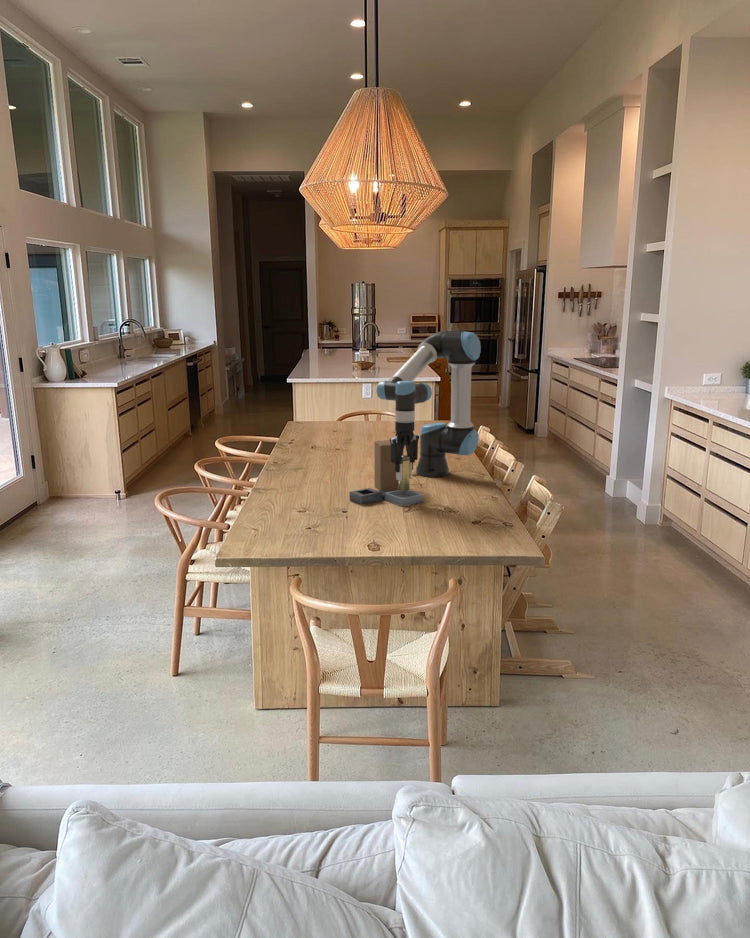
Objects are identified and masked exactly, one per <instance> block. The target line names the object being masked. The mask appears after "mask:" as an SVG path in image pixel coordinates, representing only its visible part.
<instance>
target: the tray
mask: <svg viewBox="0 0 750 938" xmlns="http://www.w3.org/2000/svg"><path fill="white" fill-rule="evenodd" d="M384 501H387V502H389V503H391V504H394V505H397V506H400V507H406V506H411V505H415V504H419V503H424V494H423V493H420V492H418V491H417V492H416V491H414V490H411V489H409V490H407V491H402V490H397V491H392V492H387V493H385V499H384Z"/></svg>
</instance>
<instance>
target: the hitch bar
mask: <svg viewBox="0 0 750 938" xmlns="http://www.w3.org/2000/svg"><path fill="white" fill-rule="evenodd" d="M387 492H392V491H390V490H387V489H385V490H380V491H379V490H378V489H377V490H376V489H373V488H371V487H368V488H363V489H358V490H352V491H349V501H350V502H352V503H354V504H355V503H356V504H358V505H360V506H363V505H368V504H373V503H378V502H381V501H383V500H384V501H385V493H387Z"/></svg>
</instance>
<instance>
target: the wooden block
mask: <svg viewBox="0 0 750 938" xmlns="http://www.w3.org/2000/svg"><path fill="white" fill-rule="evenodd" d="M404 448H405V447H404ZM404 448H403V453H402V455H405V454H404V452H405V451H404ZM373 477H374V483H373V485H374V488H376V489H377V491H380V490H385V489H387V490H390V491H397V490H399V489H398V480H396V472H395V463H392V462H391V443H390V439H388V440H375V441H374V475H373Z"/></svg>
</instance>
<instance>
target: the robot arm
mask: <svg viewBox="0 0 750 938" xmlns="http://www.w3.org/2000/svg"><path fill="white" fill-rule="evenodd" d="M481 349H482V347H481V341H480V338H479V337H478V335H477V334H476V333H475V332H470V331H449V330H441V331H438V332H435V333H434V334H431V335H430V336H428V337H426V338H425V339H423V341H422V342H420V343H419V344H418V346H417V350H416V351H415V352H414V353H413V354H412V356H410V358H409V359H408V360H407V361H406V362H405V363H404V364H403V365H402V366H401V367H400V368H399V369H398V370H397V371H396V372H395V373H394V374H393V375H392V377H391V378H389V380H388V381H387V380H381V381H379V382H378V384H377V386H376V395H377V397H378V398H379V399H380V400H386V401H394V402H395V411H394V412H395V413H394V414H395V415H394V416H395V418H394V419H395V420H396V421H395V422H394V426H395V427H394V430H395V436H394V437H390V438H389V440H390V443H391V462H392V463H395V472H396V480H399V481H402V464H401V458H402V453H403V448H405V451H406V455H409V456H410V480H411V479H412V478H413V470H414V464H415V463H416V461H418V462H417V465H416V467H415V474H417V475H419V476H421V477H428V478H430V477H431V478H435V477H436V478H439V477H446V476H448V475H449V474H450V468H449V465H448V461H447V458H446V454H450V455H459V456H467V457H468V456H471V455H472V454H473V453H474V452H475V450H476V449H477V446H478V443H479V432H478V430H476V429H474V426H475V425H474V424H473V423H472V421H471V410H472V409H471V404H472V403H471V401H472V400H471V399H472V367H473V366H474V365H475V364H476V361H477V360H478V359H479V358H480V357H481V356H480V354H481V353H482V351H481ZM437 359H447V363H448V365H449V366H450V367H451V378H450V380H451V382H450V383H451V384H450V385H451V388H450V390H451V391H450V421H449V422H448V423H447V424H446V422H432V423H426V424H423V425H422V426H421V427H420V433H419V435H417V434H415V433H414V432H415V419H416V413H415V411H416V410H415V409H416V408H415V407H416V404H422V403H425V402H427V401H429V400H430V399H431V398H432V395H433V391H432V387H431V386H430V385H429V384H428V383H425V382H419V383H415V380H416V378H418V376H419V375H420V374H421V373H422V372H423V371H424V370H425V368H426V367H427V366H429V364H431V363H433V362H435V361H436V360H437ZM419 441H420V442H419ZM419 443H420V444H419ZM419 446H420V447H419ZM418 448H419V449H418ZM418 453H419V454H418ZM418 455H419V456H418ZM418 457H419V459H418Z"/></svg>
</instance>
